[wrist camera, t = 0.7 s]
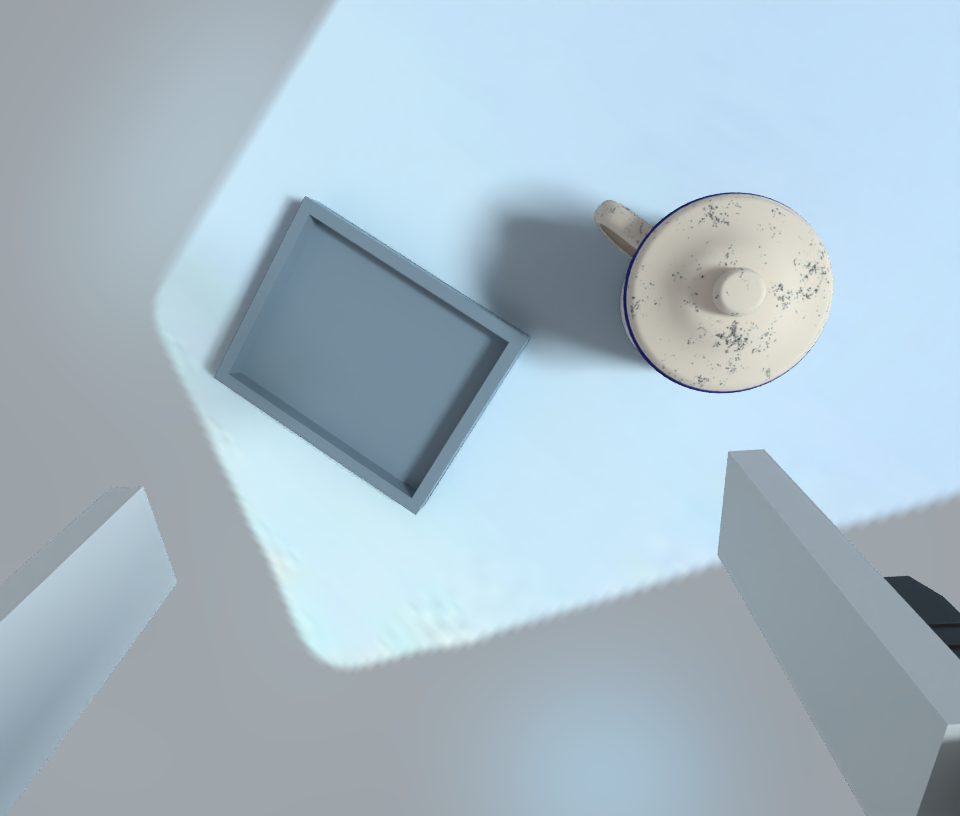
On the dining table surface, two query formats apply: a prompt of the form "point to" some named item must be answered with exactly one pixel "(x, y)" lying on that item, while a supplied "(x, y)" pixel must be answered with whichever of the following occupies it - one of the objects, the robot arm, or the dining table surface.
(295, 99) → the dining table surface
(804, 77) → the dining table surface
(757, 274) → the teacup with lid
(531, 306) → the dining table surface
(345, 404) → the slate tray
